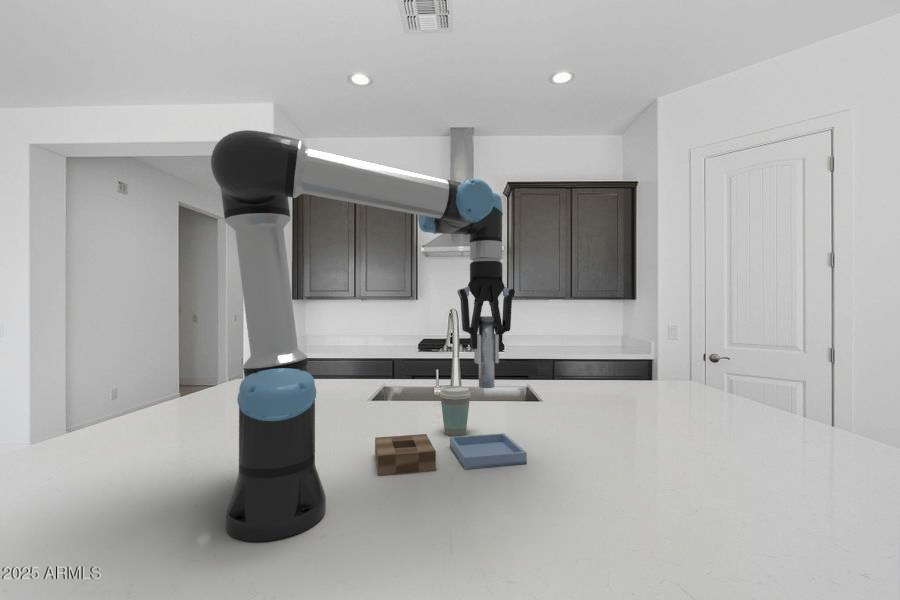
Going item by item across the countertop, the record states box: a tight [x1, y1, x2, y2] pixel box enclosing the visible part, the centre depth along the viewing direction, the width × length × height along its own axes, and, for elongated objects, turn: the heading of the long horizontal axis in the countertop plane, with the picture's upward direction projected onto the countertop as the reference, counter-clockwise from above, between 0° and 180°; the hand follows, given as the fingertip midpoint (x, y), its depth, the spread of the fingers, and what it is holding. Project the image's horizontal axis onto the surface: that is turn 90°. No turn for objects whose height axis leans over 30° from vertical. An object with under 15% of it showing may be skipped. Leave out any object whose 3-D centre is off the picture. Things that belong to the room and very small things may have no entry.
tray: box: [449, 432, 528, 470], centre depth 97 cm, size 14×14×2 cm
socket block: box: [374, 433, 437, 477], centre depth 93 cm, size 12×12×4 cm
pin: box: [478, 315, 495, 389], centre depth 97 cm, size 4×4×16 cm
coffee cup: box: [439, 385, 472, 437], centre depth 114 cm, size 9×9×12 cm
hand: (486, 362), depth 97 cm, fingers closed on pin, 3 cm apart
